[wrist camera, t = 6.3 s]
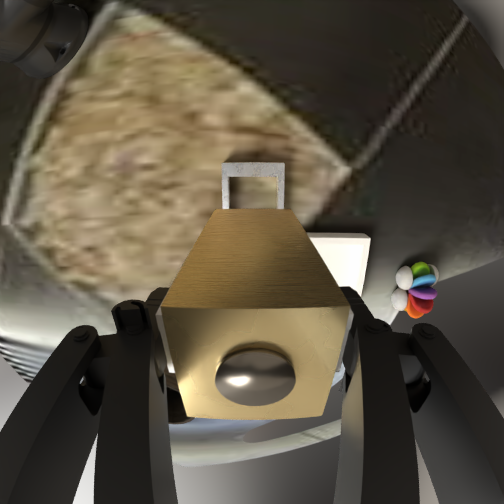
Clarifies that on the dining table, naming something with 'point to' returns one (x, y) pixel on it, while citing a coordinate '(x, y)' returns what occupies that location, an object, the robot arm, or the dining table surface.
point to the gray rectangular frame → (253, 171)
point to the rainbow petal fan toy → (415, 289)
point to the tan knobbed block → (254, 319)
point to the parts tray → (344, 256)
